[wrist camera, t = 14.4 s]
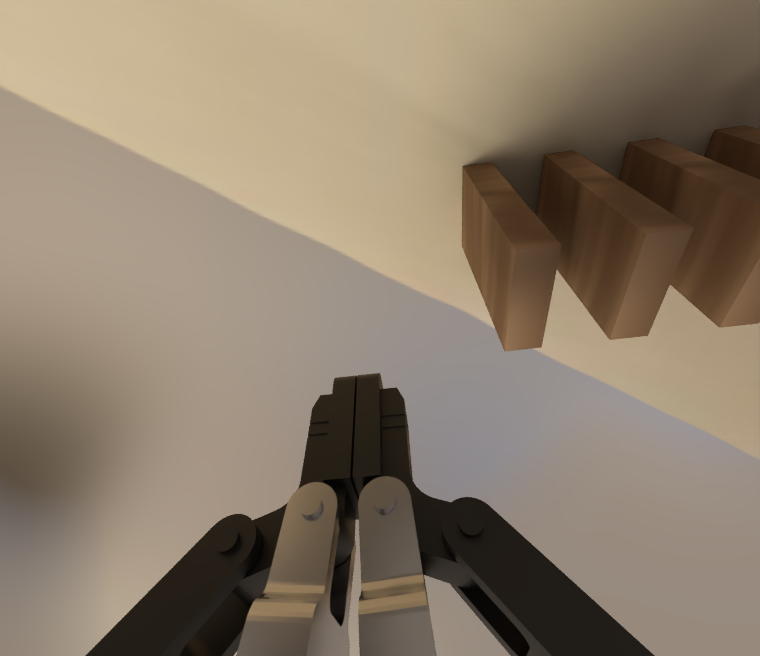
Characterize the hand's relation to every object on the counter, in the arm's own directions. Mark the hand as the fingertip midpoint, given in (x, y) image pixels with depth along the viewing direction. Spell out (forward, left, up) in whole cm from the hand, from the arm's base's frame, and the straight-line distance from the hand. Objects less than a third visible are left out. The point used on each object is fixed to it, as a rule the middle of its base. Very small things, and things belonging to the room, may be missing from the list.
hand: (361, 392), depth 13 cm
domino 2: (+5, +10, -14) cm, 18 cm away
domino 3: (+7, +14, -14) cm, 21 cm away
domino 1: (+3, +6, -14) cm, 15 cm away
